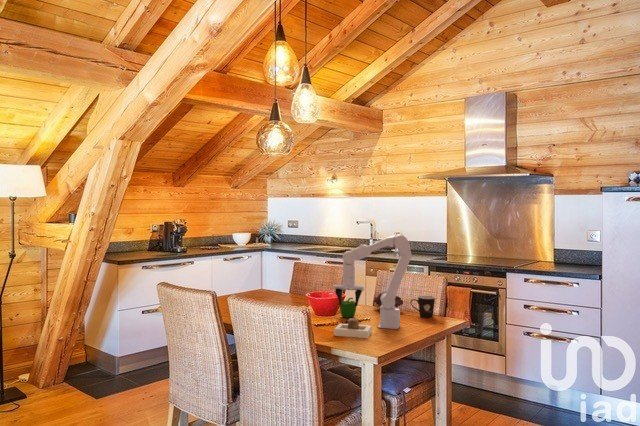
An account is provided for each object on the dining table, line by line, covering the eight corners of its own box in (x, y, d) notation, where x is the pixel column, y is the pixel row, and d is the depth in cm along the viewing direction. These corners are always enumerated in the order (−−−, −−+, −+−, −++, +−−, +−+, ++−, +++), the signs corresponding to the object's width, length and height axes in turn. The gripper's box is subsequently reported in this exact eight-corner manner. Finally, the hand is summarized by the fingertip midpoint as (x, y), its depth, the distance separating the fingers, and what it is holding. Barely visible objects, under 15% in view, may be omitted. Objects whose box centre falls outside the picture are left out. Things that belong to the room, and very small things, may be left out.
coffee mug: (437, 316, 270) (437, 296, 269) (431, 319, 263) (431, 299, 262) (416, 313, 276) (416, 294, 276) (409, 316, 269) (409, 297, 268)
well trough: (371, 332, 238) (371, 325, 238) (367, 338, 229) (367, 331, 229) (339, 329, 242) (339, 323, 242) (334, 335, 233) (334, 328, 233)
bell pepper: (337, 318, 265) (337, 298, 264) (342, 314, 272) (342, 295, 272) (353, 319, 262) (353, 299, 261) (358, 316, 269) (358, 296, 269)
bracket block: (358, 332, 237) (358, 318, 237) (356, 334, 233) (356, 321, 233) (349, 331, 238) (349, 318, 238) (348, 333, 234) (348, 320, 234)
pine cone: (406, 310, 283) (406, 291, 283) (398, 313, 275) (398, 294, 274) (376, 306, 293) (376, 288, 292) (368, 309, 284) (368, 291, 284)
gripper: (331, 277, 247) (331, 306, 247) (362, 278, 243) (362, 307, 243) (335, 274, 253) (335, 302, 254) (365, 276, 250) (364, 304, 250)
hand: (348, 305), depth 249 cm, fingers open, 7 cm apart
